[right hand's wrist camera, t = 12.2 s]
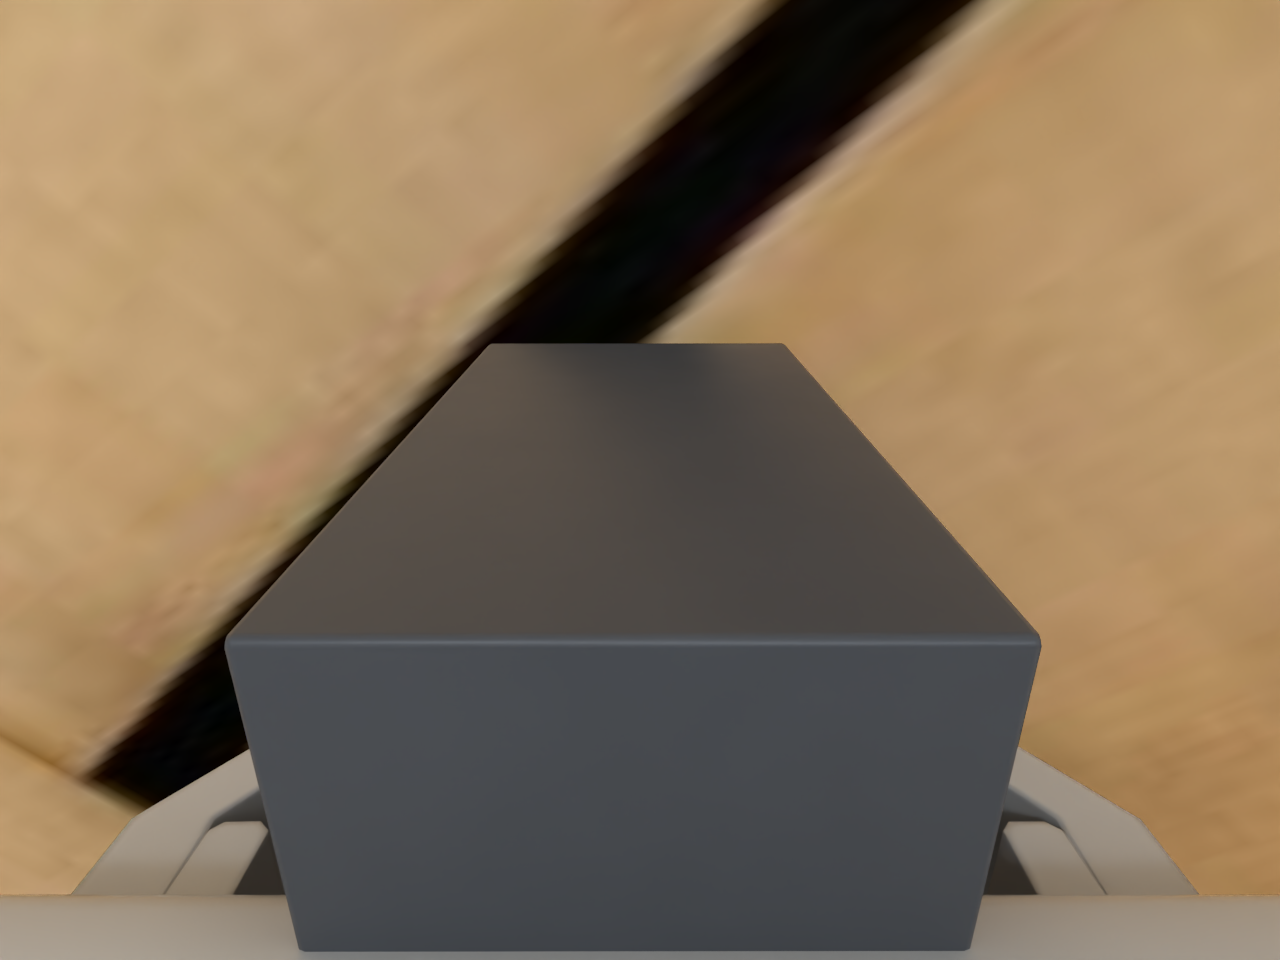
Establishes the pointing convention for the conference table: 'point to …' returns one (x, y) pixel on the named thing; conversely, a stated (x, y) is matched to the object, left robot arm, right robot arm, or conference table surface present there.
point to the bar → (634, 676)
